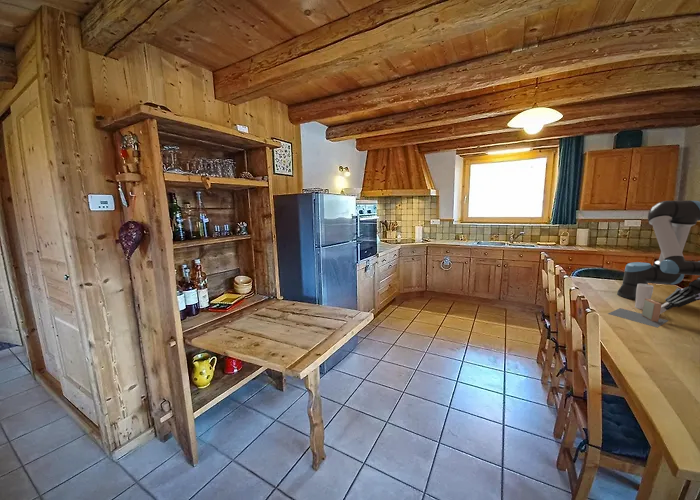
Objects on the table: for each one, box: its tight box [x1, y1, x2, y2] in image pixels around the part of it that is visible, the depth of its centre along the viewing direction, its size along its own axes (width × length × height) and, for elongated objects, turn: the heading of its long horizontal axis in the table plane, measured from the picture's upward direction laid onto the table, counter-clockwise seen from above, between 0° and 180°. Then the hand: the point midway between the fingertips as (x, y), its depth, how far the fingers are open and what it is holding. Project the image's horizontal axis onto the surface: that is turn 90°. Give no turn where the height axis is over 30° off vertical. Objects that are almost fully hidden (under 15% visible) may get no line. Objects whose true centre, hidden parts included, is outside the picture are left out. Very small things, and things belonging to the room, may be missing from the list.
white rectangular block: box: [634, 283, 654, 311], centre depth 166 cm, size 7×7×15 cm
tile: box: [641, 298, 662, 322], centre depth 152 cm, size 3×8×10 cm, turn 163°
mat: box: [607, 308, 669, 328], centre depth 155 cm, size 17×20×1 cm
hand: (657, 311), depth 151 cm, fingers closed
